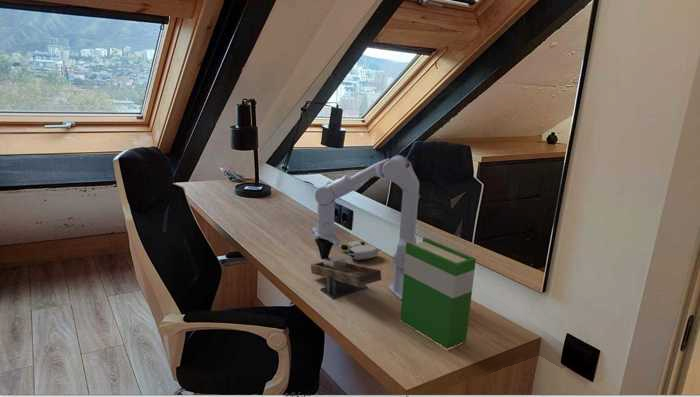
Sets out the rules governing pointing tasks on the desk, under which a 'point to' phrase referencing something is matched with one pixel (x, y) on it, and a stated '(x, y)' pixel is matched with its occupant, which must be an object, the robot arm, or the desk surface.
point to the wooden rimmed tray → (349, 274)
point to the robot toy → (360, 250)
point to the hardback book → (437, 291)
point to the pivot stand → (339, 288)
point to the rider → (335, 263)
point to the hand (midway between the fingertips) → (324, 258)
